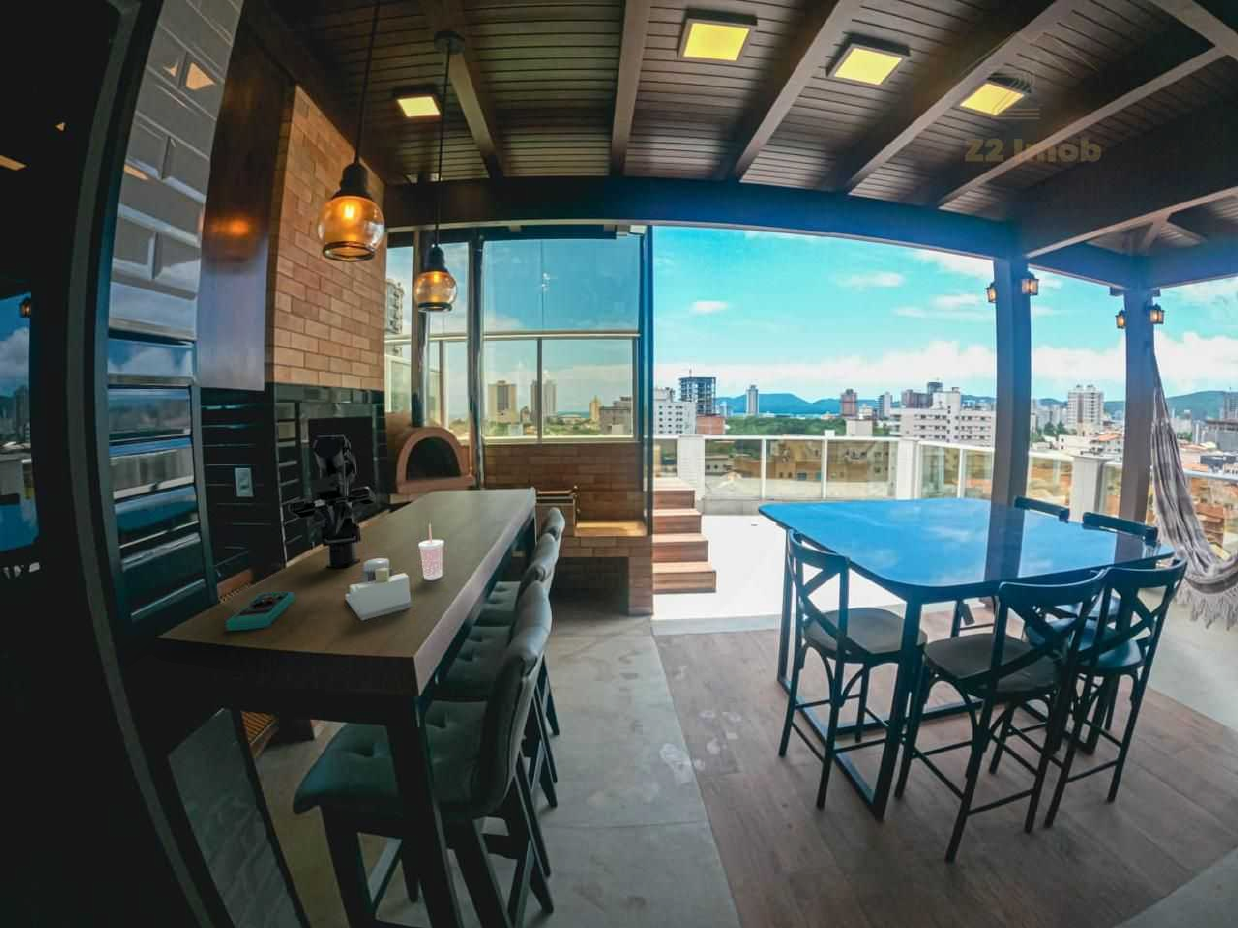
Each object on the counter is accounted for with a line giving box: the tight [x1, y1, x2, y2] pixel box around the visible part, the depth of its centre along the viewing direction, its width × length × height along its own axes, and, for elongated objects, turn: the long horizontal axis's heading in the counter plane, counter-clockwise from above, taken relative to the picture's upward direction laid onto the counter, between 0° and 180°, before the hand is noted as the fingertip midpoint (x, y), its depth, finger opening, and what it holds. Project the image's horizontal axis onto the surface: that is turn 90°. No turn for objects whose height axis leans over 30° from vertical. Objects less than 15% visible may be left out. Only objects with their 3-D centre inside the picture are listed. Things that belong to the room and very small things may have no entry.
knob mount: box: [345, 568, 412, 621], centre depth 111 cm, size 14×10×9 cm
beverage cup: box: [418, 523, 444, 581], centre depth 127 cm, size 6×6×14 cm
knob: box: [361, 557, 394, 583], centre depth 109 cm, size 5×5×9 cm
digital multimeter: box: [225, 591, 295, 632], centre depth 106 cm, size 7×15×3 cm, turn 13°
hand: (334, 533), depth 121 cm, fingers closed
